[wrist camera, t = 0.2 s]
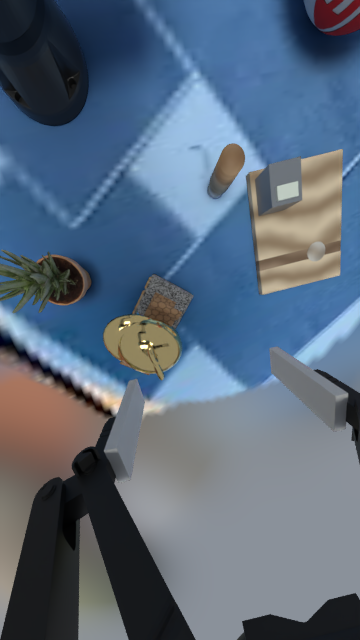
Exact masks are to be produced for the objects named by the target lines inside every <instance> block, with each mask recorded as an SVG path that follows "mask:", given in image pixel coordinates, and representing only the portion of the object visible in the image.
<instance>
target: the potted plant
mask: <svg viewBox="0 0 360 640" xmlns="http://www.w3.org/2000/svg"><path fill="white" fill-rule="evenodd" d="M1 251H3V252H4V253H6V254H7V255H9V256H10V257H12V258H13V259H14V260H15V261H14V260H12V259H8V258H5V257H1V256H0V258H2V259H5V260H7V261H10V262H12V263H14V264H16V265H19V266H21V267H23V269H24V270H25V271H24V270H21V269H18V268H15V267H11V266H8V265H4V264H0V275H3V276H6V277H10V278H13V279H16V280H13V281H6V282H1V283H0V284H4V285H0V294H4V293H7V292H10V291H12V292H10V293H8V294H7V295H5V296H3V297H1V298H0V301H2V300H6V299H9V298H12V297H14V296H17V295H19V294H22V293H24V295H23V297H22V299H21V300H20V302H19V303H18V305H17V306H16V308H15V309H14V311H13V313H15V312H17V311H18V310H20V309H21V308H22V307H23V306H24V305H25V304H26V303H27V302H28V301H29V299H30V298H31V297H32V296H33V295H36V296H35V299H34V302H33V305H34V304H36V303H37V302H38V300H39V299H40V301H42V300H43V302H42V304H41V306H40V309H39V312H42V310H43V309H44V307H45V305H46V304H47V302H48V301H49V302H51V303H54V304H58V305H69V304H73V303H75V302H77V301H79V300H80V299H82V298H83V296H84V295H85V294H86V291H87V290H88V289H89V287H90V286H91V279H90V276H89V274H88V272H87V271H86V270H85V269H83V268H82V267H81V266H80V265H79V264H78V263H77V262H76V261H74V260H72V259H70V258H68V257H65V256H60V255H50V253H49V252H48V255H47V256H45V257H44V256H43V255H42V257H43V258H41V259H39V260H38V261H37V262H36V263H35V262H34V261H32V260H31V259H29V258H27V257H25V256H23V255H21V257H22V258H23V259H22V258H20V257H18V256H16V255H15V254H13V253H11V252H8V251H6V250H1ZM35 293H36V294H35ZM39 312H38V313H39Z"/></svg>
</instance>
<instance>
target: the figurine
mask: <svg viewBox="0 0 360 640" xmlns="http://www.w3.org/2000/svg"><path fill="white" fill-rule="evenodd" d="M192 298H193V295H192V294H191V293H189V292H187V291H185V290H184V289H182V288H180V287H178V286H176V285H174V284H172V283H171V282H169V281H167V280H165V279H163V278H161V277H160V276H158V275H156V274H153V275H152V277H149V279H148V281H147V283H146V286H145V290H144V291H143V292H142V295H141V296H140V299H139V300H138V303H137V304H136V306H135V310H134V311H133V313H132V314H128V315H122V316H119V317H117V318H115V319H113V320H111V321H110V322H109V323H108V324H107V326H106V327H105V329H104V332H103V341H104V344H105V346H106V348H107V350H108V351H109V352H110V353H111V354H112V355H113V356H114V357H115V358H117V359H118V360H120V361H121V362H120V364H122V365H125V366H127V367H130V368H132V369H134V370H137V371H139V372H142V373H145V374H147V375H149V374H155V373H156V374H157V376H158V377H159V379H160V380H163V379H164V373H163V372H164V371H167V370H168V369H170V368H172V367H173V366H174V365H175V364H176V363H177V362H178V360H179V358H180V356H181V352H182V342H181V339H180V336H179V334H178V333H177V331H176V330H175V329H176V327H177V325H178V324H179V322H180V320H181V318H182V316H183V314H184V313H185V311H186V309H187V307H188V305H189V304H190V302H191V300H192Z"/></svg>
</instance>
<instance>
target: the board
mask: <svg viewBox="0 0 360 640" xmlns="http://www.w3.org/2000/svg"><path fill="white" fill-rule="evenodd" d="M342 159H343V149H341V150H337V151H333V152H329V153H325V154H321V155H317V156H313V157H309V158H305V159H301V175H302V201H300V202H298V203H296V204H294V205H293V206H291V207H289V208H287V209H285V210H282V211H278V212H274V213H270V214H266V215H262V216H258V206H257V196H256V186H255V179H256V178H257V177H258V176H259V175H260V174H261V172H262V171H263V170H264V169H261V170H257V171H253V172H249V174H248V175H247V176H246V180H247V189H248V198H249V207H250V216H251V225H252V234H253V243H254V252H255V261H256V270H257V279H258V288H259V294H261V295H264V294H268V293H271V292H275V291H279V290H283V289H287V288H291V287H295V286H299V285H303V284H307V283H311V282H315V281H319V280H323V279H327V278H331V277H335V276H339V275H340V255H341V251H340V243H341V207H342Z"/></svg>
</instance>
